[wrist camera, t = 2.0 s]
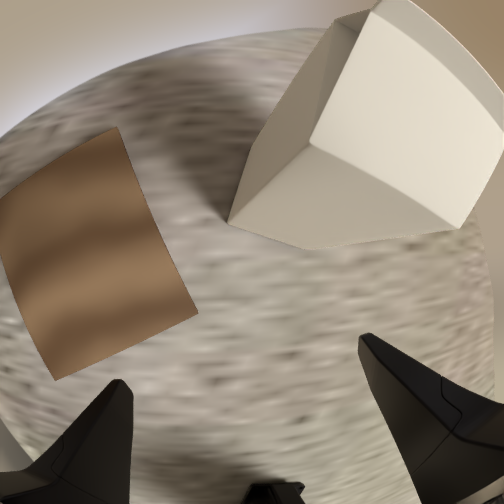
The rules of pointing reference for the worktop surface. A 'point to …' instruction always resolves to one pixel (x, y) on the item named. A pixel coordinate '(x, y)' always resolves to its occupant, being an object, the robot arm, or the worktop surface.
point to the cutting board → (88, 258)
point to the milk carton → (374, 136)
